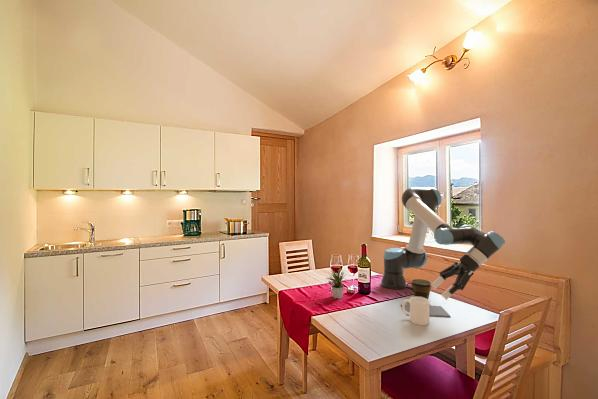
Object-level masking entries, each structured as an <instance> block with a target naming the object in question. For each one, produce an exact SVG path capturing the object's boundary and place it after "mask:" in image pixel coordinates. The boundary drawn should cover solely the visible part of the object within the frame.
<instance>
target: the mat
mask: <svg viewBox="0 0 598 399" xmlns="http://www.w3.org/2000/svg"><path fill="white" fill-rule="evenodd" d="M402 304H403V303H402ZM402 304H400V306H401V308H402ZM405 310H406V311H407V312H409V313H410V304H405ZM405 315H406V316H408V315H407V314H405ZM429 317H437V318H438V317H440V318H441V317H443V318H451V314H449V313H448V312H447V311H446V309H444V308H443V306H441V305H429Z"/></svg>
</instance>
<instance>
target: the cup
mask: <svg viewBox="0 0 598 399" xmlns="http://www.w3.org/2000/svg"><path fill="white" fill-rule="evenodd" d="M406 303H409V305H410V313H409V312H407V311H406V310H405V305H406ZM429 306H430V300H429V299H426V298H424V297H417V296H414V295H413V296H411V297H409V299H407V298H405V299H404V300H403V301H402V307H401V308H402V311H403V313H404V314H405V315H406V314H407V315H406V316H409V321H410V322H411V323H413V324H415V325H418V326H427V325H429V323H430V316H429Z"/></svg>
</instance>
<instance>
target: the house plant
mask: <svg viewBox="0 0 598 399" xmlns="http://www.w3.org/2000/svg"><path fill="white" fill-rule="evenodd" d="M328 270H329V271H330V272H331V273H329V272H328V275H329V276H328V277H326V278H325V279H326V280H328V281H327V283H328V284H332V285H331V288H330V289H331V293H332V297H334V298H333V299H336V298H338V299H342V298H343V294H344V289H345V288H344V287H345V286H344V284H343V282H344V280H343V278H344V275H345V274H344V273H345V271H344V270H342V268H341V267H340V268H339V269H338V270H337V273H336V272H335V271H334V270H332V269H330V268H328ZM324 273H326V274H327V272H324ZM345 281H348V279H345Z"/></svg>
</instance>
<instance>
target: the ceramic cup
mask: <svg viewBox="0 0 598 399" xmlns="http://www.w3.org/2000/svg"><path fill="white" fill-rule="evenodd" d="M431 284H432V281H430V280H427V279H420V278H415V279H412V280H411V282H408V283H407V282H406V288H407V289H409V290H410V291H411V292H412V293H413V297H414V296H417V297H424V298H426V299H428V300H429V297H430V293H431V289H432V288H431V287H432V286H431ZM409 285H411V287H412V288H410V287H409Z"/></svg>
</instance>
